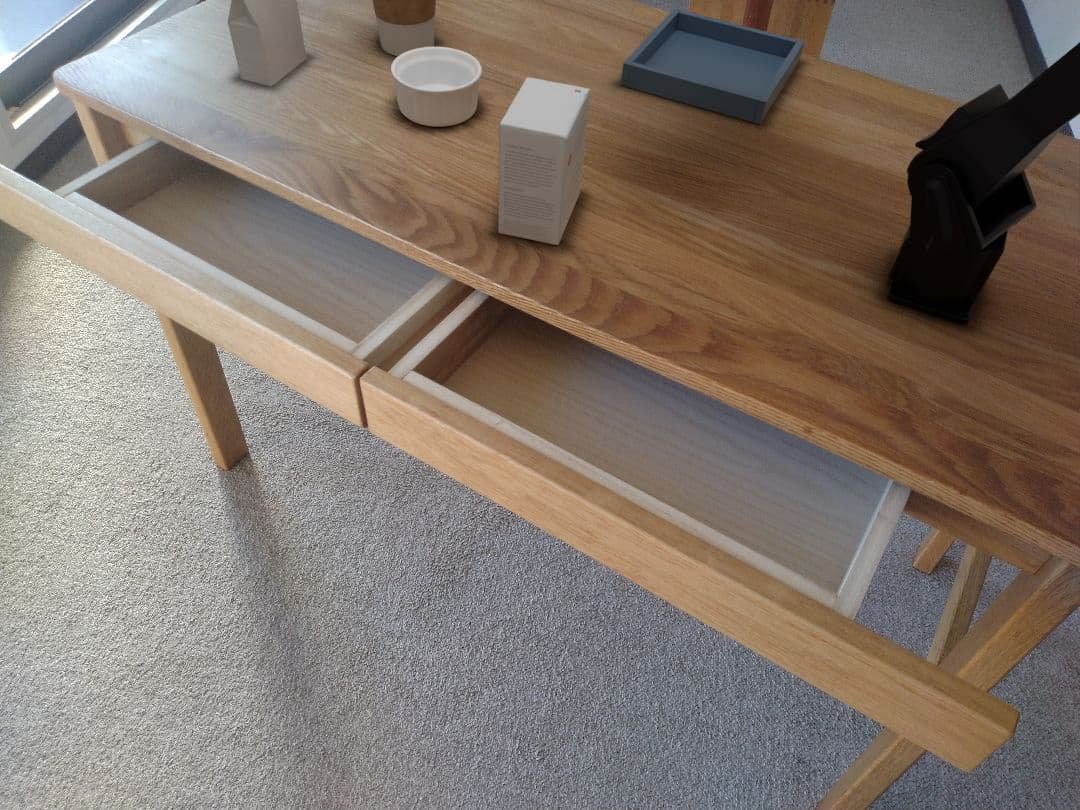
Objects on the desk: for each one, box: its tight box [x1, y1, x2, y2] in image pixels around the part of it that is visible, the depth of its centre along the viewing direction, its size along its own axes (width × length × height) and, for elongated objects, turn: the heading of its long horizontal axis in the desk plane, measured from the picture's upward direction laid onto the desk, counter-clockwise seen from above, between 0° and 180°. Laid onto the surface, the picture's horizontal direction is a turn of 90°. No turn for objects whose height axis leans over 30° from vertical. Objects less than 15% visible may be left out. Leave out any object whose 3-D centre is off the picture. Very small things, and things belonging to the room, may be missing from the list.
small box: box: [497, 76, 591, 246], centre depth 70 cm, size 8×6×10 cm
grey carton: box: [227, 0, 308, 88], centre depth 85 cm, size 4×7×10 cm, turn 159°
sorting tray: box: [620, 7, 806, 125], centre depth 92 cm, size 16×16×2 cm
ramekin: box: [390, 46, 483, 128], centre depth 84 cm, size 9×9×4 cm
